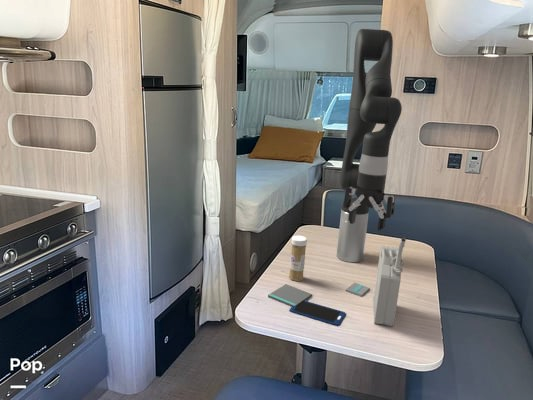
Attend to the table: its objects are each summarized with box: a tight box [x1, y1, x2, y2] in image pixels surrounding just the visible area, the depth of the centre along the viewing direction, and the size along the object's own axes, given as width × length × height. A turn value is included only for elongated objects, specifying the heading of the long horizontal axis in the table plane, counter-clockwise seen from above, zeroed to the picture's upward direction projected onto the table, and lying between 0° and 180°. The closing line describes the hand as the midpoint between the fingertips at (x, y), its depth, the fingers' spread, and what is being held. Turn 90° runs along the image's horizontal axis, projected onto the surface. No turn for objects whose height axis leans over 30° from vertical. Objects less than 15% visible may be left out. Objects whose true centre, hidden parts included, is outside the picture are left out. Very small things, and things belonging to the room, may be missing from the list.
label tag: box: [345, 282, 371, 297], centre depth 130 cm, size 6×5×1 cm
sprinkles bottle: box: [288, 235, 308, 282], centre depth 133 cm, size 5×5×13 cm
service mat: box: [267, 283, 313, 308], centre depth 124 cm, size 9×9×1 cm
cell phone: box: [288, 300, 347, 327], centre depth 116 cm, size 7×14×1 cm, turn 63°
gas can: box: [372, 237, 407, 327], centre depth 113 cm, size 15×5×25 cm, turn 168°
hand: (365, 226), depth 124 cm, fingers open, 8 cm apart
